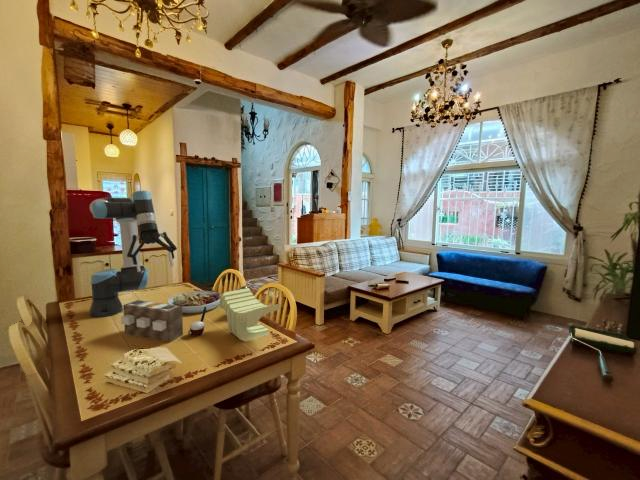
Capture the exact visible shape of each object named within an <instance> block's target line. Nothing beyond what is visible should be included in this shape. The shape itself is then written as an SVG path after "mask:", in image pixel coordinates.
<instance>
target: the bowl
mask: <svg viewBox="0 0 640 480" xmlns="http://www.w3.org/2000/svg"><path fill="white" fill-rule="evenodd" d="M221 295H222V294H220V293H218V292H215V291H209V290H197V291H194V290H193V291H187V292H186V291H185V292H182V293H179V294H175V295H173V296H171V297H169V298H168V299H167V302H166V304H169V305H176V306H182V314H187V315H188V314H190V315H191V314H199V313H203V310H204V307H206V312H208V311H211V310H213V309H215V308H217V307H218V306H220V297H221Z"/></svg>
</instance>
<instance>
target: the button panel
mask: <svg viewBox="0 0 640 480" xmlns="http://www.w3.org/2000/svg"><path fill="white" fill-rule="evenodd" d="M122 306H123V316H124V315H127V314H129V315H135V323H133V324H130V325H125V324H123V325H124V334H125V335H131V336H135V337H141V338H144V339H145V338H146V339H151V340H156V341H160V342H168V343H171V342H173V341H174V340H176V339H178V338H180V337H182V336H183V335H184V331H183V330H184V328H183V325H184V324H183V322H184V320H183V313H182V306H176V305H169V304H167V303H164V302H163V303H162V302H155V301H148V300H141V299H137V300H134V301H131V302H128V303H125V304H122ZM141 317H146V318H150V326H148V327H146V328H141V327H137V321H136V319H139V318H141ZM156 320H164V321H166V324H167V328H166V329H164V330H162V331H158V330H153V322H154V321H156Z"/></svg>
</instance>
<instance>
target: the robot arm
mask: <svg viewBox="0 0 640 480" xmlns="http://www.w3.org/2000/svg"><path fill="white" fill-rule="evenodd" d="M131 196H132V197H101V198H96V199H94V200H93V201H91V202H90V204H89V208H88V209H89V211H90V213H91V214H92V217H93V218H94V219H115V220H116V222H117V223H118V224H119V230H120V231H119V232H120V241H121V251H122V262H123V263H122V264H123V265H122V266H121V267H120V270H117V269H116V268H109V269H108V268H107V269H103V270H99V271H96V272H94V273H92V275H91V277H90V284H91V296H92V297H91V299H92V300H91V304H90V307H89V310H88V315H89V316H90V317H92V318H101V317H102V318H103V317H110V316H113V315H114V316H115V315H118V314H119V313H121V312H122V311H124V309H123V304H122V302H121V300H120V298H119V293H123V292H127V291H128V292H130V291H135V290H136V291H138V290H141V289H145V288H146V287H147V285H148V283H149V269H148V268H146V267H145V265H144V264H143V263H142V261H141V250H142V248H143V246H144V245H145V244H146V245H150V244H152V245H153V244H158V245H159V246H161V247H162V248H164V249H165V250H166V251H167V256H168V260H169V265H170V267H173V266H174V261H173V260H174V259H175V255H174V252H175V251H177V247H176V244H174V242H173V241H172V240H171V238H169V237H168V234H167V231H163V232H159V228H158V225H157V220H156V216H155V215H156V214H155V210H154V204H153V198H152V195H151V192H150V191H148V190H136V191H134V192H132V194H131ZM160 237H161V238H162V239H163V240H164V241H165V242H166V243H165V242H164V241H162V240H161V238H160ZM140 240H141V241H142V242H141V243H140V242H139V241H140ZM167 244H168V245H167Z"/></svg>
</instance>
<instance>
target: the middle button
mask: <svg viewBox="0 0 640 480" xmlns="http://www.w3.org/2000/svg"><path fill="white" fill-rule="evenodd" d="M136 321H137V327H141V328H146V327H148V326H150V318H146V317H141V318H139V319H136Z"/></svg>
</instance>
